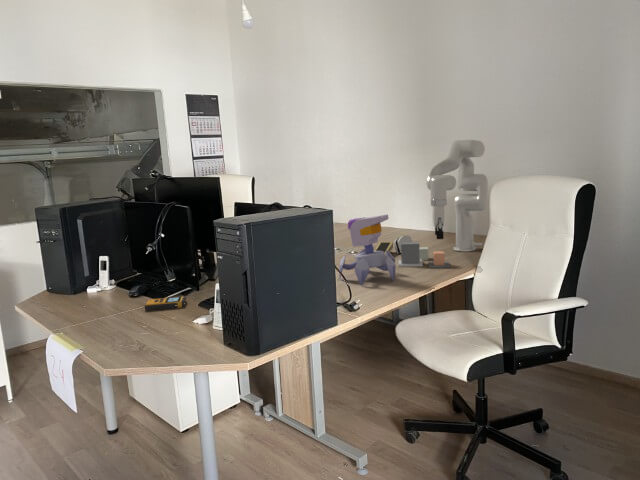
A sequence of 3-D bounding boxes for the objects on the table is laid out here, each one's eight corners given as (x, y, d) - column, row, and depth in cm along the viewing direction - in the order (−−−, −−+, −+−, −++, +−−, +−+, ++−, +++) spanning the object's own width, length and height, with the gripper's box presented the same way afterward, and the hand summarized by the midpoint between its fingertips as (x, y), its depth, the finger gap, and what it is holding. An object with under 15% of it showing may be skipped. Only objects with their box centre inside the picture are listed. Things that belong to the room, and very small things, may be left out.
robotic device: (363, 268, 247) (361, 209, 242) (408, 275, 231) (407, 212, 226) (331, 281, 227) (328, 217, 222) (378, 289, 211) (376, 220, 206)
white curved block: (404, 254, 274) (398, 237, 274) (397, 256, 277) (391, 239, 277) (417, 248, 287) (411, 232, 287) (410, 250, 290) (404, 234, 290)
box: (393, 249, 282) (393, 241, 280) (386, 265, 262) (385, 256, 260) (379, 249, 284) (379, 241, 283) (371, 265, 265) (370, 256, 263)
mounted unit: (421, 261, 255) (421, 240, 253) (422, 266, 246) (422, 244, 243) (398, 262, 257) (398, 241, 255) (398, 266, 247) (398, 245, 245)
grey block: (427, 258, 263) (427, 247, 262) (428, 260, 258) (428, 249, 257) (418, 258, 264) (418, 247, 263) (418, 260, 259) (418, 249, 258)
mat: (448, 263, 249) (448, 261, 249) (450, 268, 240) (450, 266, 239) (428, 263, 251) (428, 261, 251) (429, 268, 241) (429, 266, 241)
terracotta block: (443, 262, 247) (443, 251, 246) (444, 265, 242) (444, 253, 241) (433, 263, 248) (433, 251, 247) (434, 265, 243) (434, 253, 242)
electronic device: (148, 306, 206) (147, 298, 205) (186, 302, 208) (185, 294, 208) (144, 312, 198) (143, 304, 197) (184, 308, 200) (183, 300, 199)
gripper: (429, 200, 248) (430, 233, 252) (432, 205, 232) (432, 240, 235) (444, 199, 247) (445, 233, 251) (448, 204, 230) (448, 240, 234)
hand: (439, 236), depth 243 cm, fingers open, 9 cm apart
